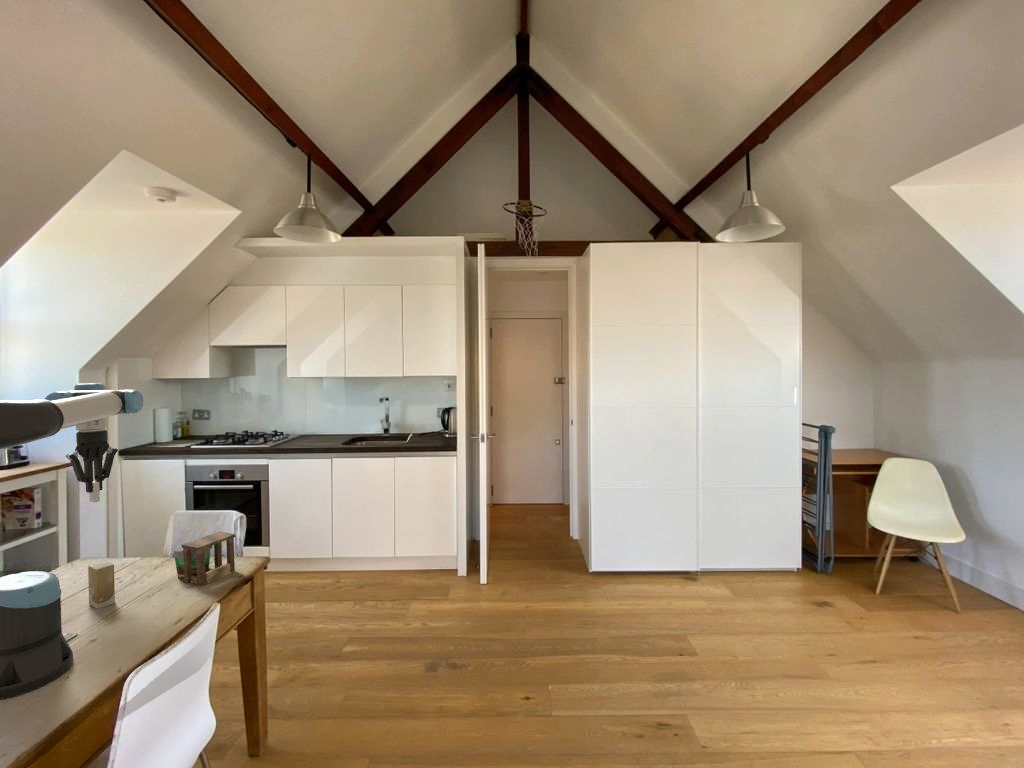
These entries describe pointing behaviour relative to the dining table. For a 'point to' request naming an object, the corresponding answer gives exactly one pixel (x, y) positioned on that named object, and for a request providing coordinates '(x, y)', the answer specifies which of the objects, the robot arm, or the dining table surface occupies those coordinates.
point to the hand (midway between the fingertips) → (94, 501)
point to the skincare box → (101, 584)
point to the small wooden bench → (200, 558)
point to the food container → (180, 562)
